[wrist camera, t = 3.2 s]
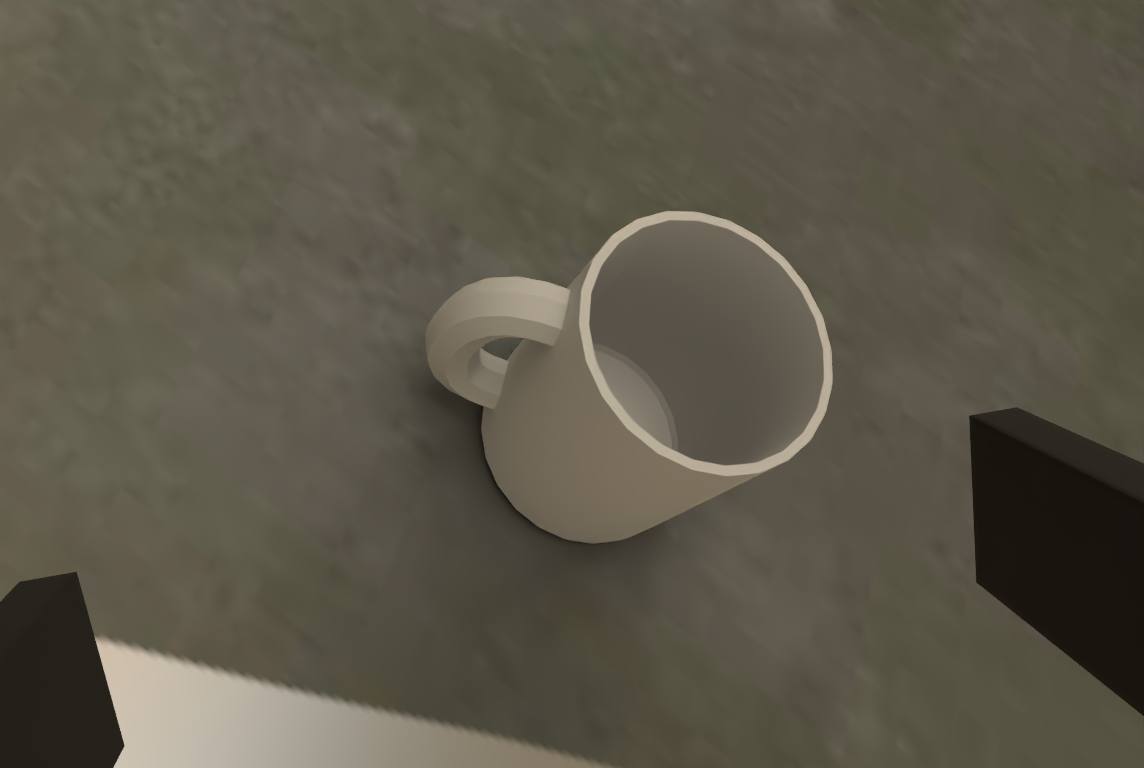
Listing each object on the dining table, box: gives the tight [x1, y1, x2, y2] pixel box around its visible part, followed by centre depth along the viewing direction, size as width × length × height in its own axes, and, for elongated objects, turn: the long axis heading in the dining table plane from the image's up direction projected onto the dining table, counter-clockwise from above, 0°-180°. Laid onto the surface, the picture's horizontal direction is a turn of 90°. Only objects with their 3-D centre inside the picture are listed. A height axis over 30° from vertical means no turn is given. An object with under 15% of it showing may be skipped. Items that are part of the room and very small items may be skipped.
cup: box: [425, 211, 833, 544], centre depth 29 cm, size 7×10×9 cm
